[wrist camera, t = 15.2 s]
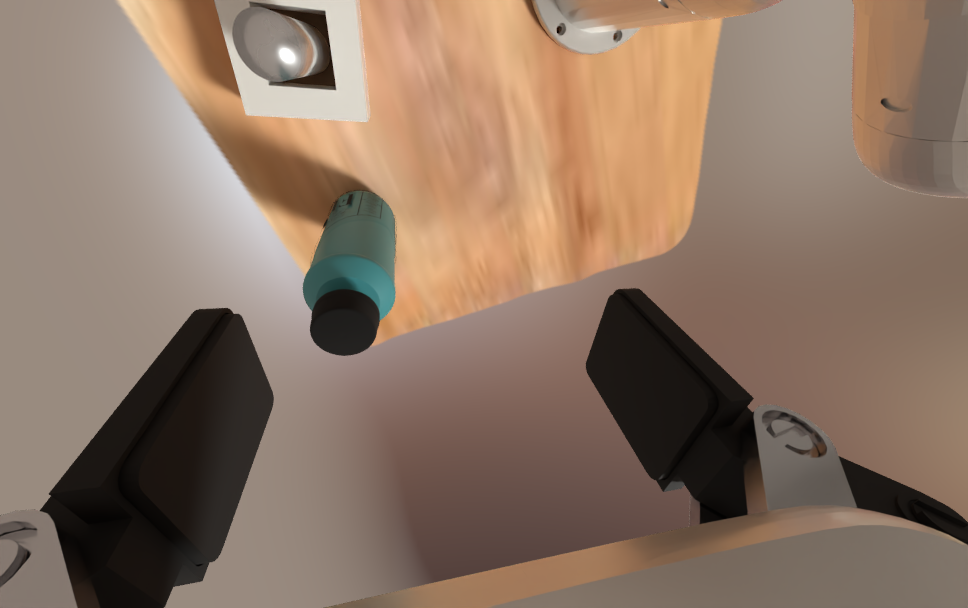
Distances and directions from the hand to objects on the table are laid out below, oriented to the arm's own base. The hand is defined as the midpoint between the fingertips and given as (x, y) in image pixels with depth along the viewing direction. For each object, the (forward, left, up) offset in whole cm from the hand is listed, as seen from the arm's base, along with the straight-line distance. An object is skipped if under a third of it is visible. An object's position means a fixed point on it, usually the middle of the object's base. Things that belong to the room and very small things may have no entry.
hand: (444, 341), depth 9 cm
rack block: (+8, -6, -30) cm, 32 cm away
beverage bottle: (+5, +8, -31) cm, 32 cm away
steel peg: (+8, -6, -30) cm, 32 cm away
